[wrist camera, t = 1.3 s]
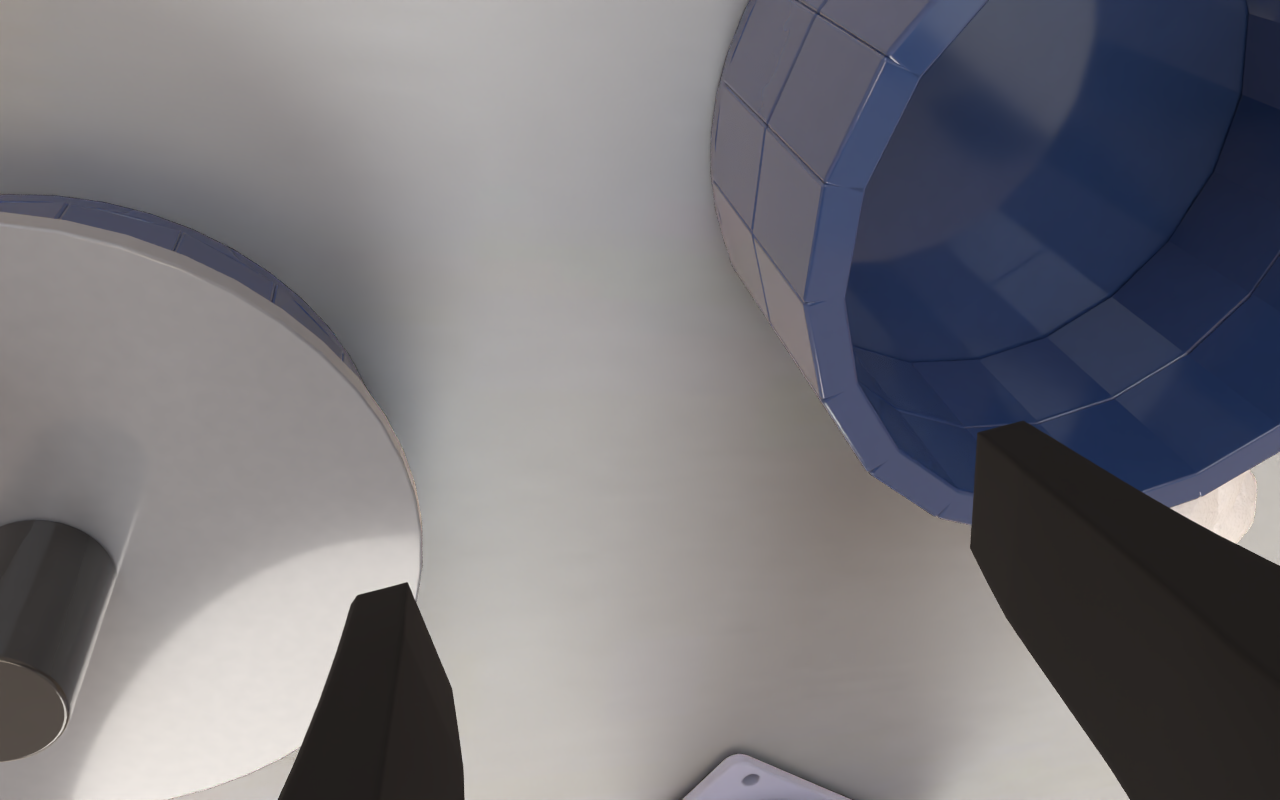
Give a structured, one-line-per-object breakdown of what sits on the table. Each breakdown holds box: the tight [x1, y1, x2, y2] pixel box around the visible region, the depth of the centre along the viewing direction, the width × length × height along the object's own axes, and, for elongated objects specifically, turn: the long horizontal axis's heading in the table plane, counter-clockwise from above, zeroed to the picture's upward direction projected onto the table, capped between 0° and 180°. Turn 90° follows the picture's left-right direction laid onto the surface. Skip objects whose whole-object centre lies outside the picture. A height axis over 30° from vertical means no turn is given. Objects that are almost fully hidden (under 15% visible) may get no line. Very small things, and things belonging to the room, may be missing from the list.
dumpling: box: [1170, 469, 1257, 544], centre depth 27 cm, size 7×5×4 cm
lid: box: [0, 212, 423, 800], centre depth 18 cm, size 14×14×4 cm
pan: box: [0, 194, 366, 388], centre depth 21 cm, size 12×12×3 cm
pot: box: [711, 0, 1280, 526], centre depth 19 cm, size 12×12×6 cm
